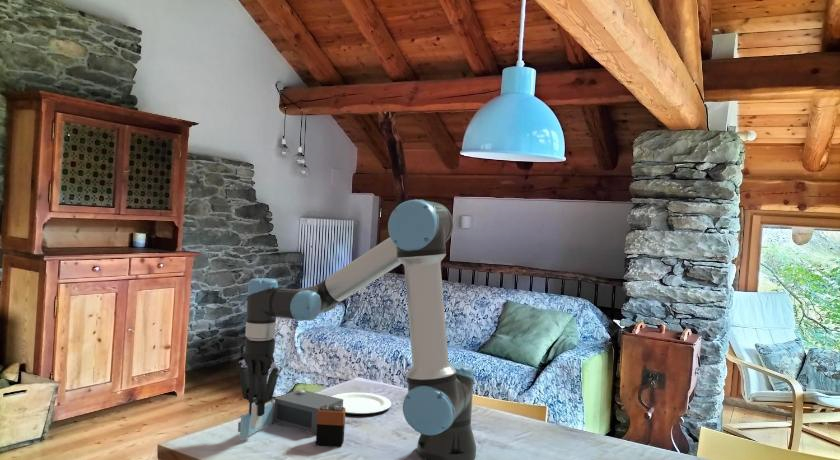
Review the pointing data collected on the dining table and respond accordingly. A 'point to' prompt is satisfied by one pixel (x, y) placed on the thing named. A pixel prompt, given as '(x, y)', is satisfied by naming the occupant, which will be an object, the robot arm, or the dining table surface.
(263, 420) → the door
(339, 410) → the battery
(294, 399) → the camera body
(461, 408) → the robot arm
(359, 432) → the dining table surface
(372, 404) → the plate
